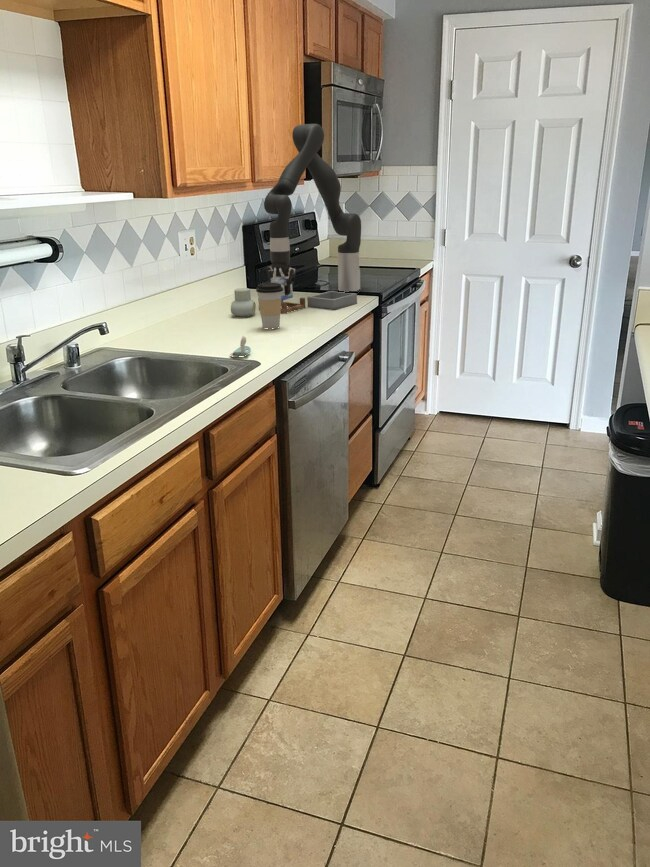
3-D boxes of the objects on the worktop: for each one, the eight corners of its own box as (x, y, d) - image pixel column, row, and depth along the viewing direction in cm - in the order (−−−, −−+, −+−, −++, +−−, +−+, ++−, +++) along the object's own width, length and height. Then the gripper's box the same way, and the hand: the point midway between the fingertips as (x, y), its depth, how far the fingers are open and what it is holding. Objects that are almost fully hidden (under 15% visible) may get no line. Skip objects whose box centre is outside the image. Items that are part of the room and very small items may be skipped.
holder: (280, 304, 290) (279, 295, 289) (305, 308, 283) (305, 297, 281) (259, 310, 280) (258, 300, 279) (284, 313, 273) (284, 303, 272)
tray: (330, 300, 297) (330, 290, 295) (357, 303, 289) (356, 293, 288) (307, 307, 285) (307, 297, 283) (334, 310, 277) (333, 300, 276)
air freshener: (252, 318, 266) (250, 291, 263) (230, 318, 267) (228, 291, 263) (256, 312, 276) (255, 286, 273) (235, 312, 277) (233, 286, 273)
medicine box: (280, 301, 276) (279, 278, 273) (271, 299, 279) (270, 277, 276) (293, 297, 282) (292, 275, 279) (284, 296, 285) (283, 274, 281)
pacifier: (227, 359, 212) (247, 359, 212) (225, 339, 210) (245, 338, 209) (233, 353, 219) (252, 353, 218) (231, 333, 217) (250, 333, 216)
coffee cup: (252, 327, 251) (250, 284, 246) (274, 323, 257) (272, 281, 251) (268, 332, 244) (266, 287, 239) (290, 327, 250) (288, 284, 245)
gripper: (300, 249, 272) (302, 294, 279) (272, 247, 280) (274, 291, 286) (288, 251, 267) (290, 297, 273) (259, 249, 275) (262, 294, 281)
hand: (282, 293), depth 280 cm, fingers closed on medicine box, 4 cm apart
